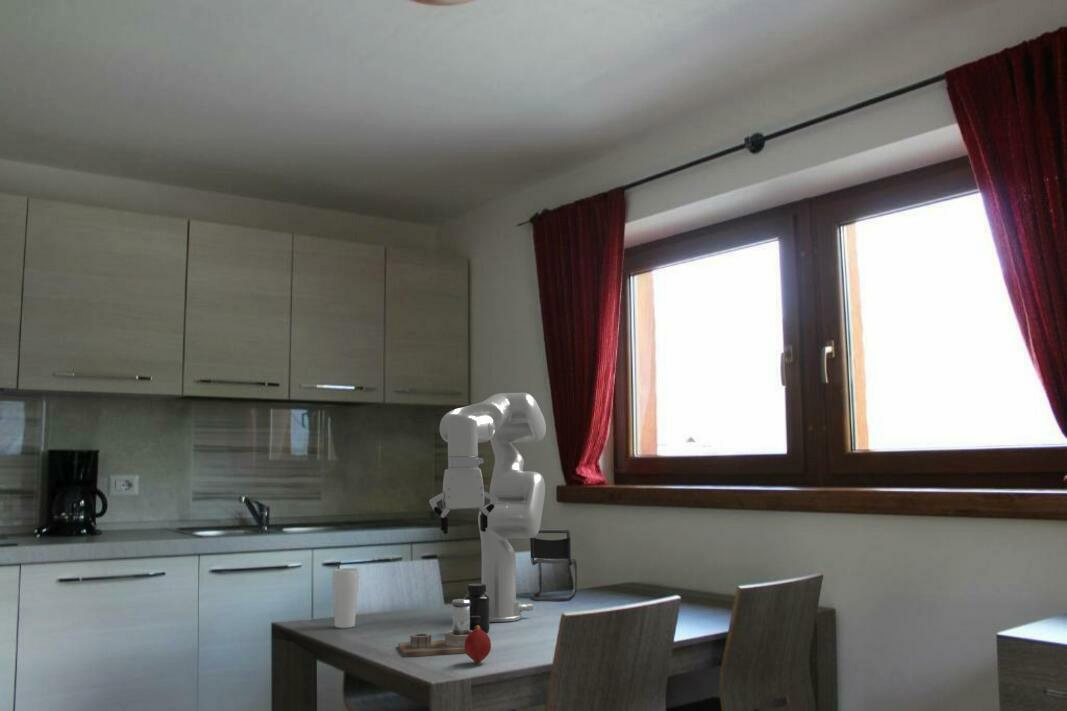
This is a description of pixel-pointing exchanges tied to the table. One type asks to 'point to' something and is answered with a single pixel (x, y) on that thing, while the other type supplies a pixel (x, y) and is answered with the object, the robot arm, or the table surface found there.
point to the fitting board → (433, 645)
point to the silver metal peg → (461, 616)
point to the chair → (552, 551)
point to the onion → (477, 645)
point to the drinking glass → (345, 596)
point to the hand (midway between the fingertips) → (464, 532)
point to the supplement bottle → (479, 607)
